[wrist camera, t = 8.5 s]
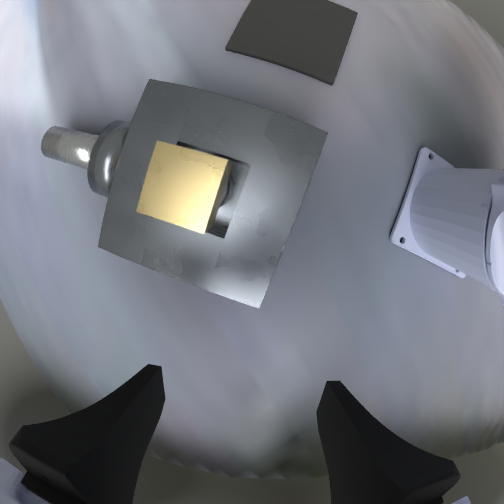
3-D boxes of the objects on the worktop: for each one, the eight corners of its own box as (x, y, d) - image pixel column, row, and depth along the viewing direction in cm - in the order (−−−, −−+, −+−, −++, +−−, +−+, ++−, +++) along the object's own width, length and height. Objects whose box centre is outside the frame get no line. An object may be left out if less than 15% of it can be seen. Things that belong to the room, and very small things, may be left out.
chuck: (309, 145, 18) (328, 132, 13) (258, 278, 20) (258, 309, 15) (91, 87, 16) (55, 70, 11) (57, 201, 19) (17, 209, 14)
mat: (356, 15, 14) (357, 12, 14) (331, 85, 16) (333, 83, 16) (262, -16, 14) (262, -19, 14) (225, 50, 16) (225, 48, 15)
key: (225, 214, 17) (203, 234, 10) (183, 201, 17) (136, 211, 10) (240, 171, 16) (228, 159, 9) (196, 158, 16) (157, 140, 9)
